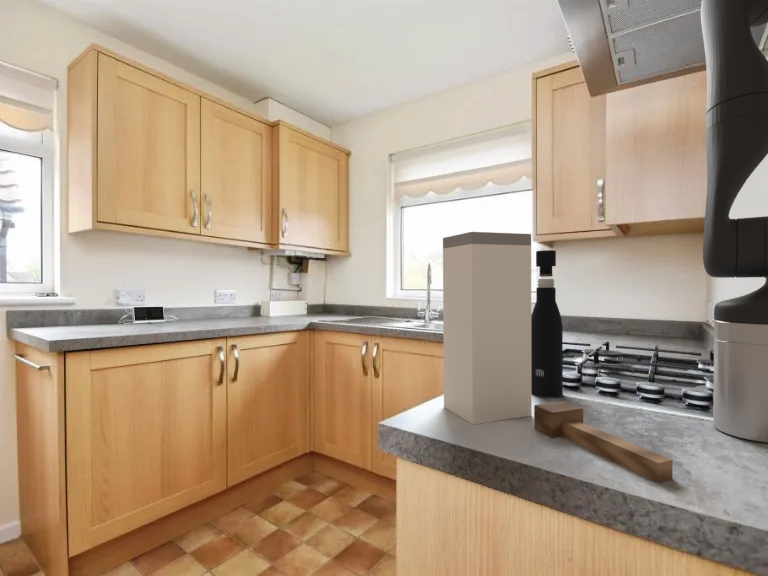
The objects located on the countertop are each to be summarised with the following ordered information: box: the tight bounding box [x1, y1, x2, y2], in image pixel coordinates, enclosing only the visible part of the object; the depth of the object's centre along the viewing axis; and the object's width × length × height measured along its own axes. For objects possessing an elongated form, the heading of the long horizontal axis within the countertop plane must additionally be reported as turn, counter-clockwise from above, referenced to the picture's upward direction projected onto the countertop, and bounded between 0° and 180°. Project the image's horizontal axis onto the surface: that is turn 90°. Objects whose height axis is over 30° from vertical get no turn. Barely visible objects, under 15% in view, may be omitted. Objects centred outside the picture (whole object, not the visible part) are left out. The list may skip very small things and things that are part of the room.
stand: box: [442, 231, 533, 425], centre depth 74 cm, size 10×12×32 cm
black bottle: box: [531, 249, 564, 399], centre depth 85 cm, size 6×6×30 cm
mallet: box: [533, 400, 674, 483], centre depth 57 cm, size 19×6×4 cm, turn 20°
